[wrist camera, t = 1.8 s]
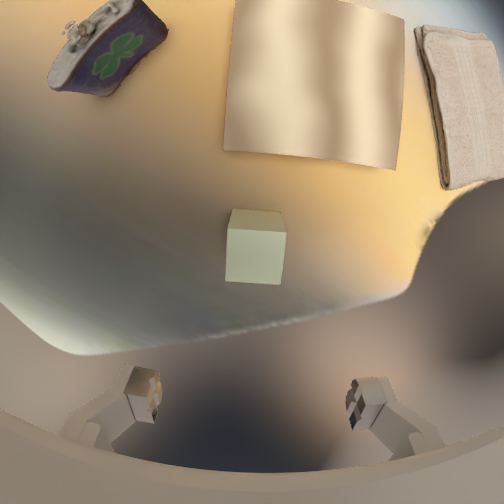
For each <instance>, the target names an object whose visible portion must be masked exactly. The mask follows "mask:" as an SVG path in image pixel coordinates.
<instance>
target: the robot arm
mask: <svg viewBox="0 0 504 504" xmlns="http://www.w3.org/2000/svg"><path fill="white" fill-rule="evenodd" d="M159 377H160V375H159V371H158V370H153V369H148V368H142V367H137V366H131V365H126V364H124V365H123V366H122V368H121V370H120V372H119V374H118V377H117V379H116V381H115V383H114V385H113V387H112V389H111V391H109V390H107V391H106V392H104V393H103V394H101V395H99V396H98V397H96V398H94V399H93V400H92V401H90V402H88V403H86V404H85V405H83V406H81V407H80V408H78V409H76V410H75V411H73V412H71V413H70V414H69V415H68V417H67V419H66V421H65V423H64V425H63V427H62V429H61V431H60V433H59V435H57V434H55V433H52V432H50V431H47V430H45V429H42V428H40V427H38V426H35V425H33V424H31V423H29V422H27V421H25V420H22V419H20V418H18V417H16V416H14V415H12V414H10V413H8V412H6V411H4V410H2V409H0V504H504V427H503V426H497V427H495V428H493V429H490V430H488V431H485V432H483V433H480V434H478V435H475V436H473V437H470V438H467V439H465V440H462V441H459V442H456V443H454V444H451V445H447V446H445V444H444V442H443V440H442V438H441V436H440V433H439V431H438V429H437V427H436V426H435V425H433V424H432V423H430V422H429V421H427V420H426V419H425V418H423V417H421V416H420V415H419V414H417V413H416V412H415V411H413V410H412V409H410V408H409V407H407V406H406V405H404V404H403V403H402V402H398V401H397V398H396V396H395V394H394V392H393V389H392V387H391V385H390V383H389V380H388V378H387V377H386V376H382V377H370V378H358V379H354V380H353V381H352V383H351V387H352V389H350V390H349V391H348V392H347V395H346V401H345V403H346V410H347V412H349V413H350V414H351V416H350V418H349V421H350V424H351V428H352V430H363V429H370V431H371V432H373V434H374V435H375V436H376V437H377V438H378V439H379V440H380V441H382V443H383V444H385V446H386V447H387V448H388V449H389V450H391V452H392V453H393V455H392V457H391V458H390V459H389V460H388V461H387V462H382V463H377V464H371V465H365V466H359V467H352V468H344V469H336V470H327V471H315V472H299V473H238V472H222V471H210V470H201V469H193V468H185V467H178V466H172V465H166V464H161V463H155V462H150V461H145V460H141V459H136V458H131V457H128V456H124V455H119V454H116V453H115V452H114V450H113V448H112V447H111V445H110V443H111V442H112V441H113V440H115V439H116V438H117V437H118V436H119V435H120V434H122V433H123V432H124V431H125V430H126V429H127V428H128V427H130V426H131V425H132V424H133V423H134V422H135V420H136V421H142V422H148V423H155V419H156V416H157V412H158V411H157V407H156V406H157V405H159V404H160V401H161V397H162V385H161V383H160V382H159Z"/></svg>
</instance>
